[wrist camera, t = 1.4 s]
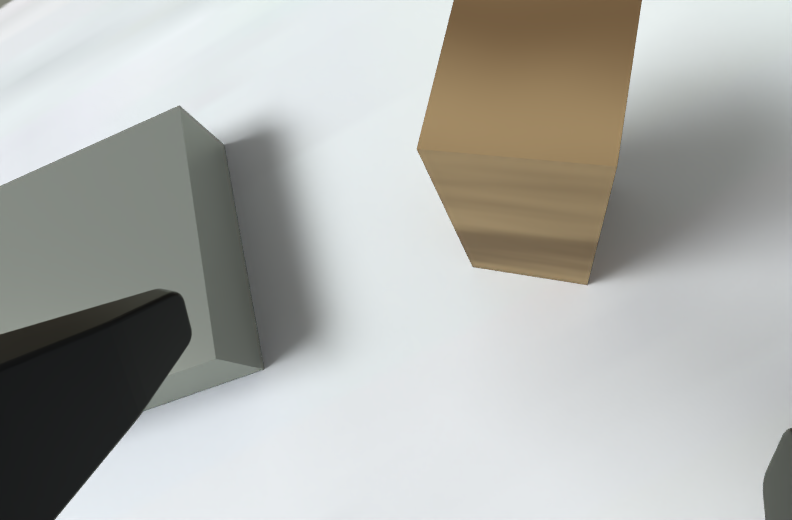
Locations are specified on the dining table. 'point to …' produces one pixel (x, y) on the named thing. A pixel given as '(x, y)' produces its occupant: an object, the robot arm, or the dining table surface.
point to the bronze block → (530, 129)
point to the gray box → (135, 243)
